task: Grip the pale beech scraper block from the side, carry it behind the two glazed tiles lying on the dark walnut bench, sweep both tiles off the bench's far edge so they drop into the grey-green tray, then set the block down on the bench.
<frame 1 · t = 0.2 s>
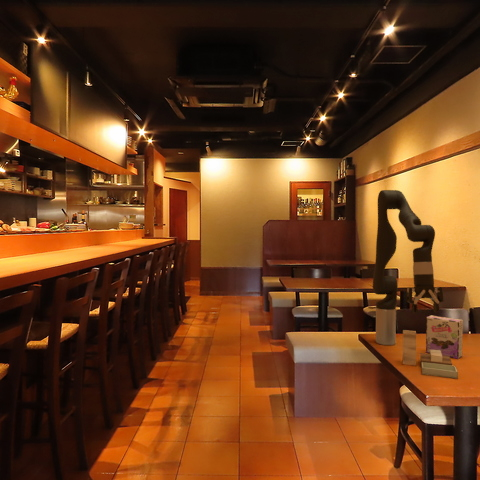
hand: (425, 313, 162), 22 cm above the table, tool pointing down, fingers open, 8 cm apart
bench: (435, 365, 163), on the table
candy box: (443, 355, 179), on the table
scraper block: (409, 362, 167), on the table
tray: (438, 373, 154), on the table
tile b: (436, 360, 160), point 3 cm above the table, touching bench
tile a: (435, 357, 165), point 3 cm above the table, touching bench
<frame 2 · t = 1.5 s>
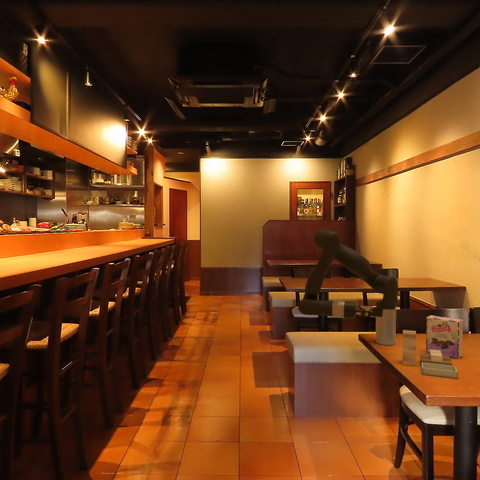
hand: (382, 312, 170), 20 cm above the table, tool horizontal, fingers open, 8 cm apart
nothing on the table moved.
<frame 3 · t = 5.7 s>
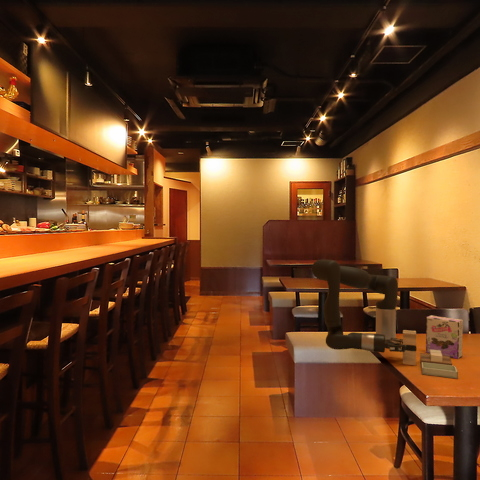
hand: (416, 346, 166), 7 cm above the table, tool horizontal, fingers closed on scraper block, 5 cm apart
scraper block: (409, 362, 167), on the table, touching gripper
everything else where it was.
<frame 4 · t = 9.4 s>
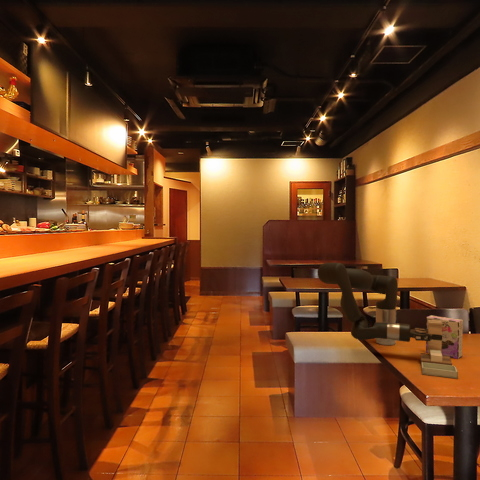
hand: (441, 336, 169), 11 cm above the table, tool horizontal, fingers closed on scraper block, 5 cm apart
scraper block: (434, 352, 170), point 4 cm above the table, touching gripper
everything else where it was.
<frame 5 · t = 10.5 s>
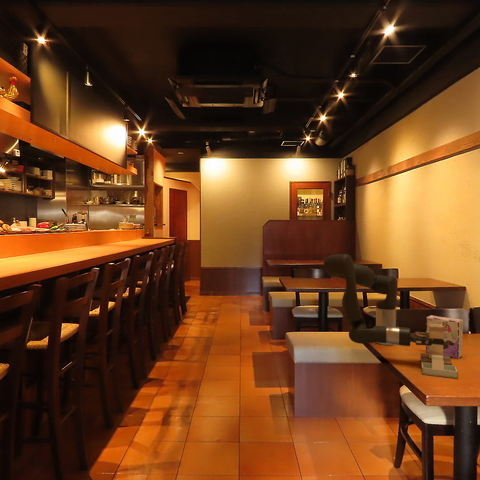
hand: (442, 340, 162), 11 cm above the table, tool horizontal, fingers closed on scraper block, 5 cm apart
scraper block: (435, 356, 163), point 4 cm above the table, touching gripper, tile a
tile b: (437, 365, 156), point 2 cm above the table, tilted 70°, touching tray
tile a: (437, 361, 159), point 3 cm above the table, touching scraper block
everything else where it was.
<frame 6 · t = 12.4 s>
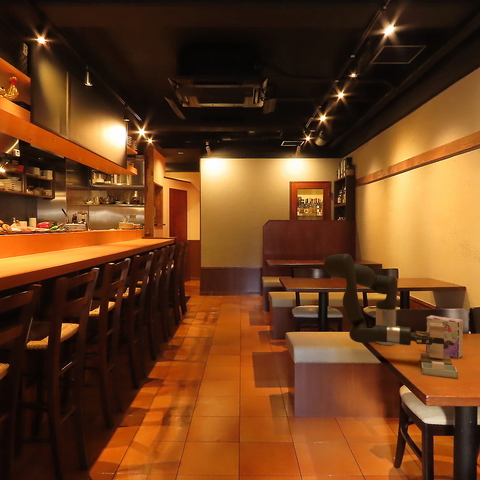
hand: (443, 339, 162), 11 cm above the table, tool horizontal, fingers closed on scraper block, 5 cm apart
scraper block: (435, 356, 163), point 4 cm above the table, touching gripper
tile b: (437, 367, 154), point 3 cm above the table, tilted 90°, touching tray
tile a: (437, 370, 155), point 1 cm above the table, touching tray
everything else where it was.
when the fingers open (11 cm above the table, at t = 12.9 s): scraper block stays where it is, resting on bench.
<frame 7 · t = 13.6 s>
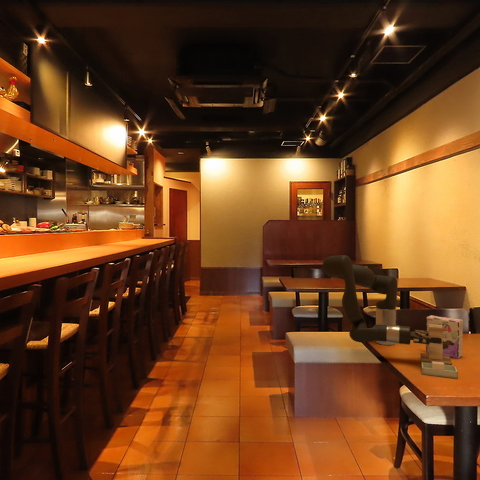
hand: (440, 338, 164), 11 cm above the table, tool horizontal, fingers open, 8 cm apart
scraper block: (435, 357, 165), point 3 cm above the table, touching bench
everything else where it was.
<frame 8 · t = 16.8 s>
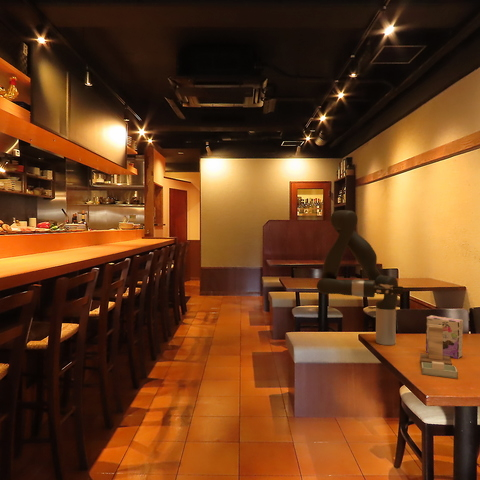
hand: (403, 290, 169), 30 cm above the table, tool horizontal, fingers open, 8 cm apart
nothing on the table moved.
at the end: tile a inside the target area on the tray (1.3 cm from its centre), point 0.6 cm above the tray's base; tile b inside the target area on the tray (0.9 cm from its centre), point 2.6 cm above the tray's base; the gripper is holding nothing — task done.
